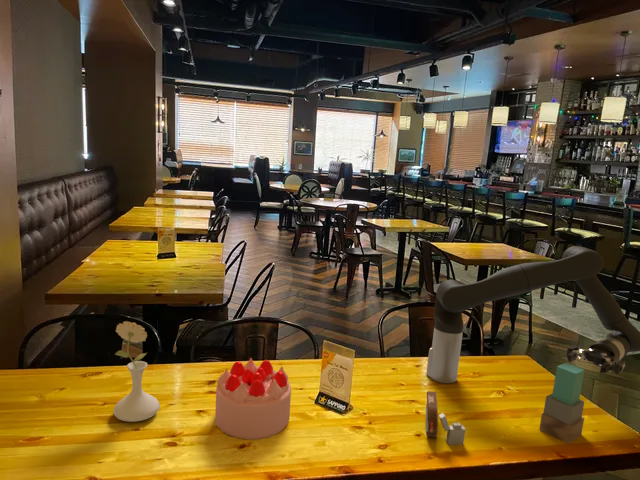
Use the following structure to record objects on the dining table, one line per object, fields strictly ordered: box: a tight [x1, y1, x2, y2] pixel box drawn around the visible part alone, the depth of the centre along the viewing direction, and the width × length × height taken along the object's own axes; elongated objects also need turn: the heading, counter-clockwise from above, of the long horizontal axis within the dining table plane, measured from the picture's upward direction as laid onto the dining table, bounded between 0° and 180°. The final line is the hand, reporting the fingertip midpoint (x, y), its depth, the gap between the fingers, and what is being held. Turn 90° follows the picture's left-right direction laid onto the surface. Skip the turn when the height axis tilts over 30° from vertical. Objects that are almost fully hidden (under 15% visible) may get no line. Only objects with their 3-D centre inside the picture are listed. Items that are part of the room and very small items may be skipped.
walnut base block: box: [539, 412, 585, 445], centre depth 127 cm, size 8×8×5 cm
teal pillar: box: [551, 362, 586, 405], centre depth 126 cm, size 5×5×9 cm
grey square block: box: [542, 392, 585, 425], centre depth 127 cm, size 7×7×5 cm
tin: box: [425, 390, 439, 438], centre depth 125 cm, size 15×3×8 cm, turn 168°
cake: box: [214, 357, 292, 441], centre depth 123 cm, size 20×20×14 cm
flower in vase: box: [113, 321, 161, 423], centre depth 120 cm, size 13×11×25 cm
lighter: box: [438, 412, 466, 446], centre depth 118 cm, size 7×2×8 cm, turn 98°
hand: (585, 364), depth 131 cm, fingers open, 8 cm apart
